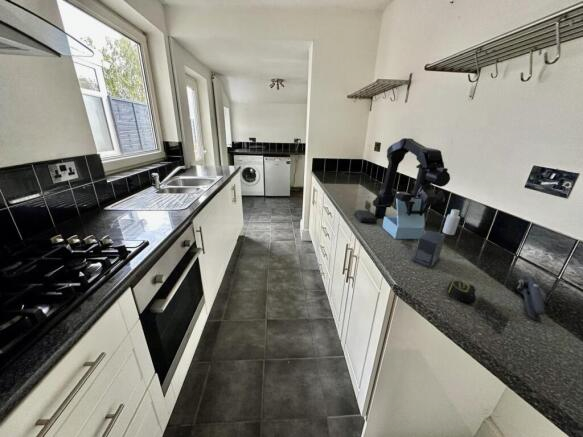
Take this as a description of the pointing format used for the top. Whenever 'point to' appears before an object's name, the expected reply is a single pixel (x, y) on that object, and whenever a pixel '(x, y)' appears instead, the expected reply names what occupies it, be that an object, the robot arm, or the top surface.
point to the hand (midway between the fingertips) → (414, 215)
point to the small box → (429, 248)
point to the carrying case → (365, 216)
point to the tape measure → (462, 291)
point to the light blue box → (401, 229)
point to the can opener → (532, 297)
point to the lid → (414, 218)
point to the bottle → (451, 222)
